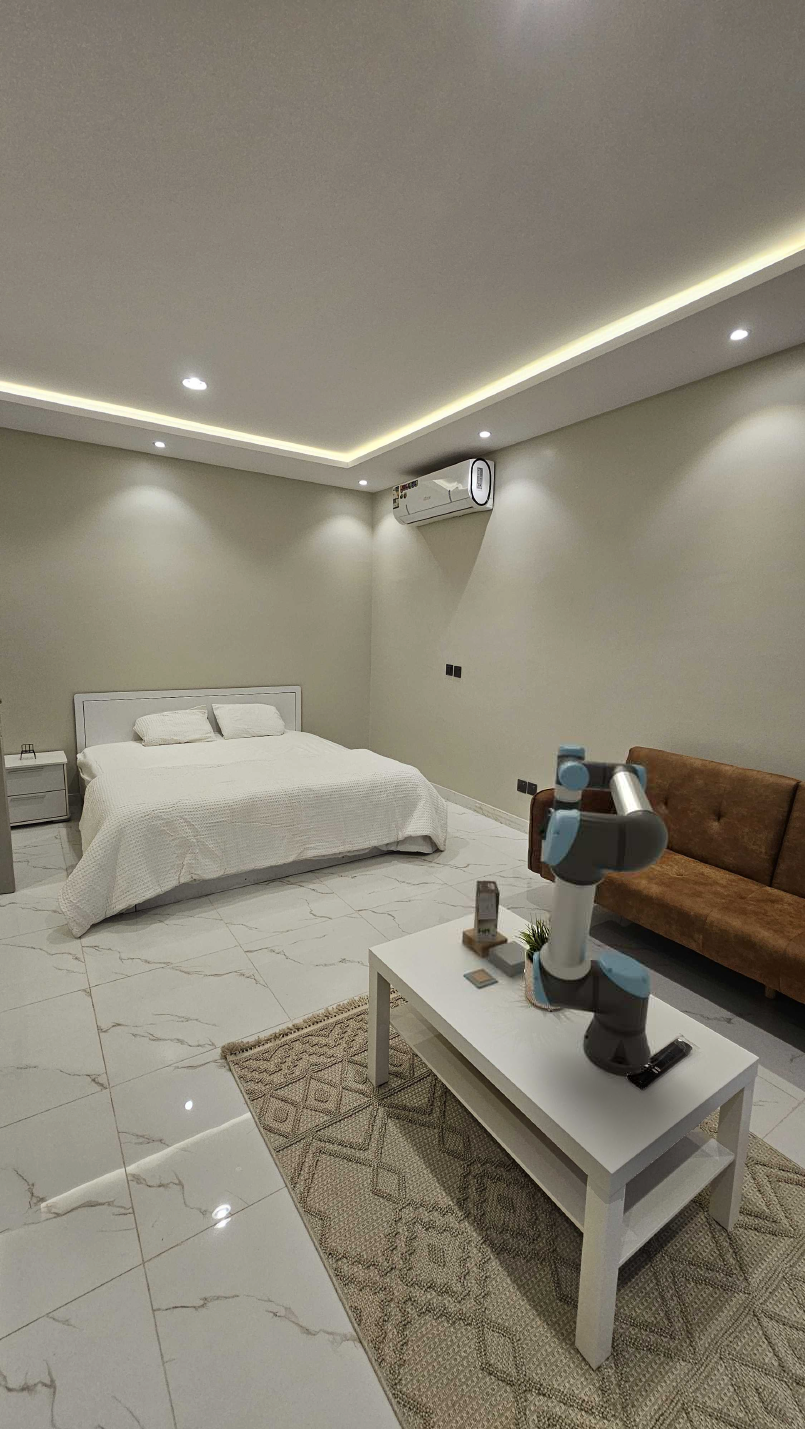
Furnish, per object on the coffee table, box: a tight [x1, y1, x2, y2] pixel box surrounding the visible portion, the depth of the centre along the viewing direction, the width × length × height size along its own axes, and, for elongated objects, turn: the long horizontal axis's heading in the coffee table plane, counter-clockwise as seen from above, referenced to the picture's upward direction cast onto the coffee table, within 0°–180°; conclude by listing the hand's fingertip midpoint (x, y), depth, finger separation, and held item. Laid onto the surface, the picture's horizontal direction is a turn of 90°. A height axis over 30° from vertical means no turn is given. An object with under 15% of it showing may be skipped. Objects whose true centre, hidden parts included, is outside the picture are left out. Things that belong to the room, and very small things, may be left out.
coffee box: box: [473, 880, 501, 942], centre depth 189 cm, size 9×6×16 cm
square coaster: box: [463, 968, 499, 989], centre depth 173 cm, size 7×7×1 cm
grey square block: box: [487, 940, 527, 979], centre depth 180 cm, size 10×10×4 cm
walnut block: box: [461, 927, 509, 959], centre depth 190 cm, size 10×10×4 cm
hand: (561, 868), depth 177 cm, fingers open, 13 cm apart
